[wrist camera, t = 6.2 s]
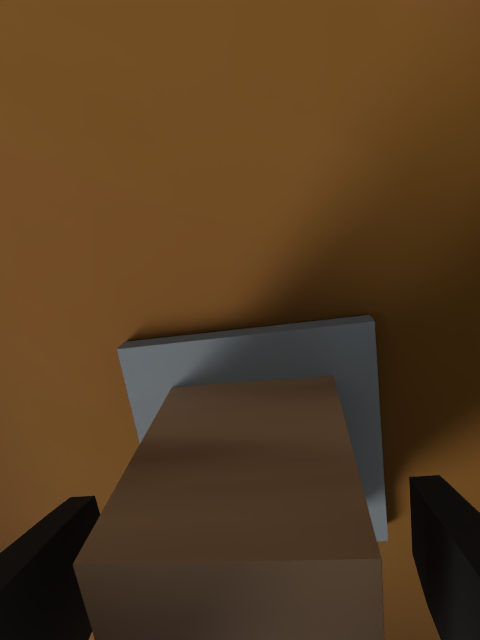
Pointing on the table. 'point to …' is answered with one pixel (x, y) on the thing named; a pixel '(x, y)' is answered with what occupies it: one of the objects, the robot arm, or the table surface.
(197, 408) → the walnut block
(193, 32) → the table surface
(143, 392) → the slate coaster
